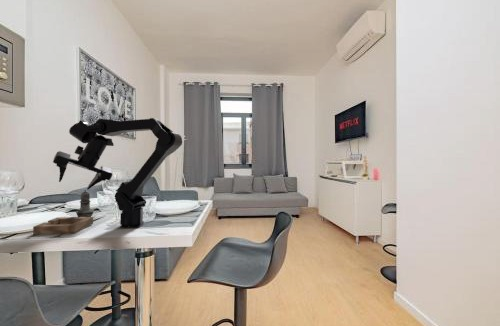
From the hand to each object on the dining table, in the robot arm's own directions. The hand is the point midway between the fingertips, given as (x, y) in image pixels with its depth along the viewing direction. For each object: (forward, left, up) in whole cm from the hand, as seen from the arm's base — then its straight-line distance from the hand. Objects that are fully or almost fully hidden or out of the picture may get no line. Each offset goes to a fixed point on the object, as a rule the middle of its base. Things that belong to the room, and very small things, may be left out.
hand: (74, 185), depth 92 cm
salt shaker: (-3, -3, -14) cm, 15 cm away
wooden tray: (-2, +8, -14) cm, 16 cm away
